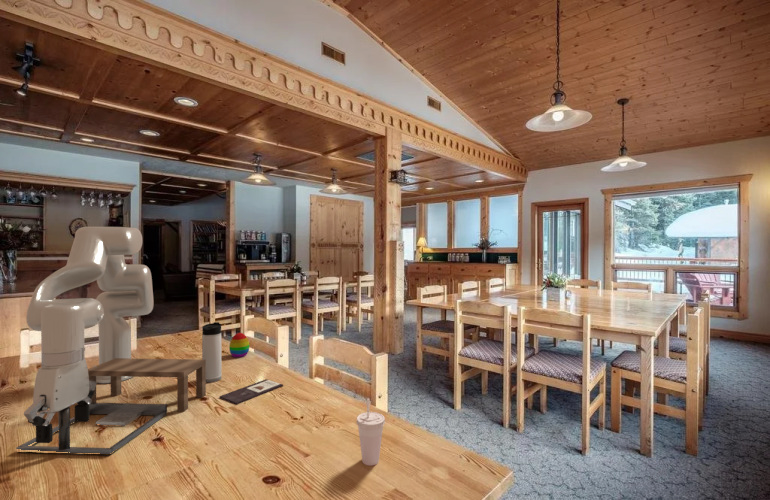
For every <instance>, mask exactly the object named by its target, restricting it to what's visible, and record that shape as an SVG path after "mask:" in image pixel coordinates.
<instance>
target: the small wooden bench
mask: <svg viewBox="0 0 770 500" xmlns="http://www.w3.org/2000/svg"><path fill="white" fill-rule="evenodd" d="M93 366H94V365H93ZM194 372H195V383H196V384H195V385H196V386H195V392H196V393H195V396H196V397H195V398H197V399H199V398H200V399H201V398H204V397H205V396H206V394H207V393H206V392H207V390H206V387H207V386H206V384H207V382H206V360H202V359H196V358H195V359H193V358H192V359H190V358H189V359H188V358H187V359H185V358H183V359H182V358H132V357H131V358H115V359H112V360H109V361H107V362H104V363H102V364H99V363H98V364H97V366H94V367H90V368H89V367H88V375H89V381H95V382H96V376H111V383H110V397H118V396H119V395H122V381H121V376H127V377H132V378H134V377H136V378H137V377H140V378H177V379H176V387H177V388H176V389H177V390H176V393H177V394H176V396H177V397H176V398H177V400H176V401H177V404H176V406H177V407H176V408H177V412H180V413H184V412H186V411H187V410H188V409H189V375H190V374H192V373H194ZM91 400H92V401H91V403H97V386H96V387H95V390H94V395H93V396H92V398H91Z"/></svg>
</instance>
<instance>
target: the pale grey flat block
mask: <svg viewBox="0 0 770 500" xmlns="http://www.w3.org/2000/svg"><path fill="white" fill-rule="evenodd" d="M141 416H142V415H141V412H112V413H110V414H106V415H105V416H104V417H102V418H100V419H97V420H96V421H95V425H96V424H100V425H121V426H120V427H126V426H127V425H129V424H131V423H132V422H133V421H135V420H137V419H138V418H140V417H141ZM125 425H126V426H125Z"/></svg>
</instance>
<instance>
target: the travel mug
mask: <svg viewBox="0 0 770 500" xmlns="http://www.w3.org/2000/svg"><path fill="white" fill-rule="evenodd" d="M201 329H202V334H201V335H202V337H201V339H202V340H201V341H202V342H201V343H202V345H201V348H202V351H201V352H202V353H201V358H202V359H201V360H206V383H215V382H218V381H220V380H221V379H222V370H223V369H222V366H223V365H222V324H221V323H220V322H219V321H217V322H216V321H214V322H212V323H207V324H205V325H202V328H201Z"/></svg>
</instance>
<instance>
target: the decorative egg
mask: <svg viewBox="0 0 770 500" xmlns="http://www.w3.org/2000/svg"><path fill="white" fill-rule="evenodd" d="M228 347H229V348H228V349H229V353H230V355H231V356H232V357H233V358H243V357H245V356H247V355H248V353H249V351H250V341H249V338H248V336H247V335H245V334H244V333H243V332H237V333H235V334H234V335H233V337H232V338H231V339H230V343H229V346H228Z"/></svg>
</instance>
